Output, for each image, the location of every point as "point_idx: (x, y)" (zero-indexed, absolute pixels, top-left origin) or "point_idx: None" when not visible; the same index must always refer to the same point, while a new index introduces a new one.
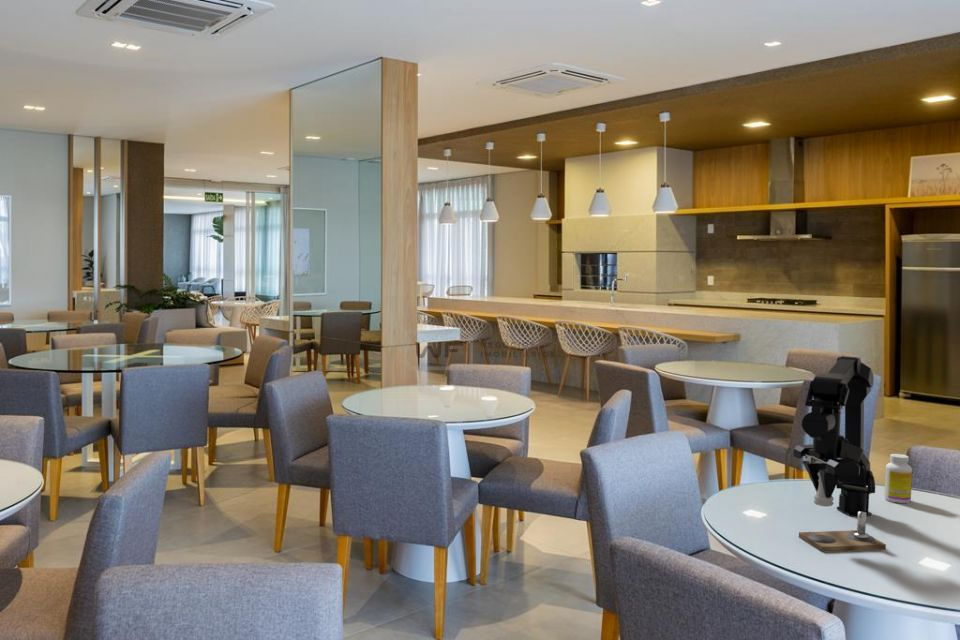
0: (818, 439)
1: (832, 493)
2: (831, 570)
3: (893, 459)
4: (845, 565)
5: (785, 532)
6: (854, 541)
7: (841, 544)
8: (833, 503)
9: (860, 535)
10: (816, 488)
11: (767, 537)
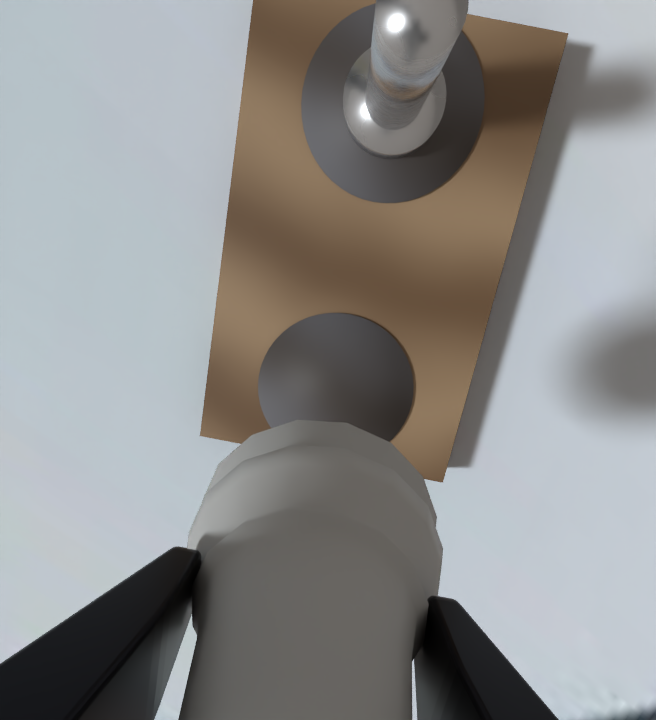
0: None
1: (503, 658)
2: (643, 590)
3: None
4: (629, 488)
5: (123, 436)
6: (438, 220)
7: (451, 345)
8: (412, 467)
9: (420, 133)
10: (161, 693)
11: None
